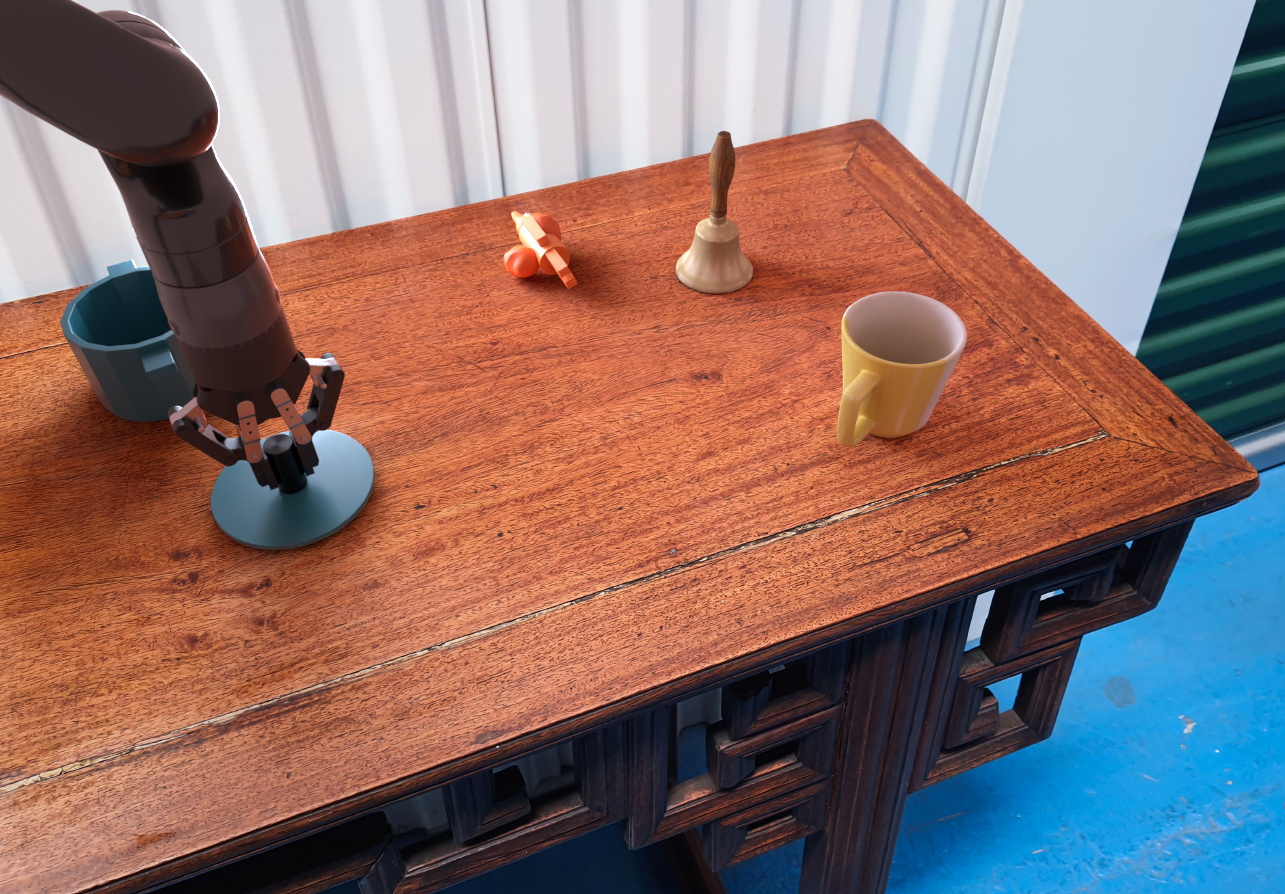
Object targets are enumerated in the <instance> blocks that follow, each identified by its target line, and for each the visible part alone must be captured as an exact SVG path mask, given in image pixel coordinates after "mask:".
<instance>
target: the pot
mask: <svg viewBox="0 0 1285 894" xmlns="http://www.w3.org/2000/svg"><path fill="white" fill-rule="evenodd" d="M106 270H107V273H108V275H106V276H105V277H103V278H101V279H99V280H97V281H95V282H93V283H92V284H90V285H87V286H86V287H84V288H83V289H82V290H81V291H80V292H79V293H78V294H77V295H76V296H75V297H74V298H72V299H71V300H70V301H69V302H68V303H67V304H66V306H65V308H64V311H63V314H62V316H61V318H60V321H59V322H60V326H61V329H62V332H63V336H64V339H65V340H66V342H67V343H68V345H69V347H70V349H71V351H72V353H73V354H74V357H75V358H76V360H77V362H78V364H79V366H80V368H81V369H82V371H83V373H84V375H85V377H86V378H87V381H88V382H89V384H90V386H91V387H92V389H93V391H94V393H95V395H96V397H97V399H98V401H99V402H100V404H101V405H102V406H103V407H104V408H105V409H106V410H107V411H108V412H109V413H111V414H112V415H114V416H116V417H118V418H121V419H122V420H127V421H131V422H138V423H139V422H141V423H150V422H151V423H153V422H160V421H167V420H170V419H169V417H168V410H169V409H170V408H172V407H174V406H180V407H182V408H183V407H184V406H185V405H186V404H187V403H189V402H190V401H191V400H192V399H193V398H194V394H193V389H194V385H195V380H194V377H193V375H192V373H191V370H190V368H189V366H188V364H187V361H186V359H185V357H184V355H183V352H182V350H181V348H180V346H179V343H178V341H177V339H176V336H175V334H174V332H173V331H172V330H171V328H170V326H169V324H168V318H167V316H166V314H165V312H164V309H163V307H162V304H161V302H160V299H159V296H158V292H157V288H156V284H155V280H154V277H153V274H152V272H151V270H150V267H149V265H146V266H136V263H135V261H134V259H129V260H126V261H122V262H119V263H115V264H112V265H109V266H106Z"/></svg>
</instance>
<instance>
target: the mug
mask: <svg viewBox="0 0 1285 894" xmlns="http://www.w3.org/2000/svg"><path fill="white" fill-rule="evenodd" d="M840 327H841V329H840V331H841V333H840V334H841V336H840V337H841V339H840V340H841V364H842V395H841V399H840V403H839V408H838V409H839V410H838V416H837V424H836V433H835V434H836V442H837V443H838V444H839V445H842V447H843V446H844V447H846V448H855V447H856V446H857V445H858V444H860V442H862V441H863V440H864V439H865V438H866V436H868V435H869V434H870V435H872V436H875V437H878V438H885V439H895V438H900V437H904V436H906V435H909V434H912V433H915V432H917V431H919V430H920V429H922V428H923V427H924V426H925V425H926V424H927V423H928V421H930V418H931V416H932V414H933V412H934V410H935V407H936V406H937V403H938V401H939V400H940V398H941V396H942V395H943V394H942V393H943V392H944V389H945V388H946V385H947V383H948V381H949V380H950V378H951V376H952V374H953V372H954V370H955V368H956V366H957V364H958V362H959V360H960V357H961V355H962V353H963V351H964V349H965V347H966V345H967V341H968V333H967V328H966V326H965V323H964V322H963V320H962V319H961V317H960V316H959V315H958V314H957V313H956V312H955V311H954V310H953V309H952V308H951V307H949V306H948V305H946V304H944V303H943V302H942V301H939V300H937V299H934V298H932V297H930V296H926V295H922V294H920V293H914V292H908V291H894V290H893V291H892V290H891V291H881V292H875V293H872V294H869V295H866V296H863V297H861V298H859V299H856V301H854V302H853V303H851V304H850V305H849V306H848V308H847V309H846V310H845V312H844V314H843V316H842V319H841V325H840Z"/></svg>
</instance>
